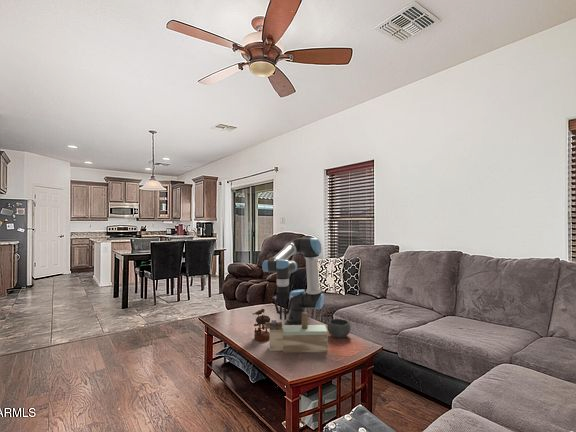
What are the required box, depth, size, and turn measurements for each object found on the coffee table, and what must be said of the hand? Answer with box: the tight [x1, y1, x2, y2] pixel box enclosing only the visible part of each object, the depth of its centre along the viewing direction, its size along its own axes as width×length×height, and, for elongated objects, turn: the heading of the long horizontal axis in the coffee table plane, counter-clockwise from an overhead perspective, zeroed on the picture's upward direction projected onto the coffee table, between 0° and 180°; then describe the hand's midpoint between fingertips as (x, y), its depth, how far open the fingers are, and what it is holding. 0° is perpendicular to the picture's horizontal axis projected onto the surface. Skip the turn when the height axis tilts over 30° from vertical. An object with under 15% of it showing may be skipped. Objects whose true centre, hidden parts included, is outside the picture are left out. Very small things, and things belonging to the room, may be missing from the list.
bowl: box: [327, 318, 351, 339], centre depth 211 cm, size 15×15×10 cm
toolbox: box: [269, 319, 329, 354], centre depth 192 cm, size 12×34×16 cm, turn 91°
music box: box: [252, 308, 271, 343], centre depth 209 cm, size 15×11×20 cm
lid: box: [282, 311, 329, 335], centre depth 192 cm, size 12×26×11 cm, turn 91°
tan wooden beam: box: [265, 321, 283, 330], centre depth 192 cm, size 2×10×3 cm, turn 91°
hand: (283, 324), depth 192 cm, fingers closed
